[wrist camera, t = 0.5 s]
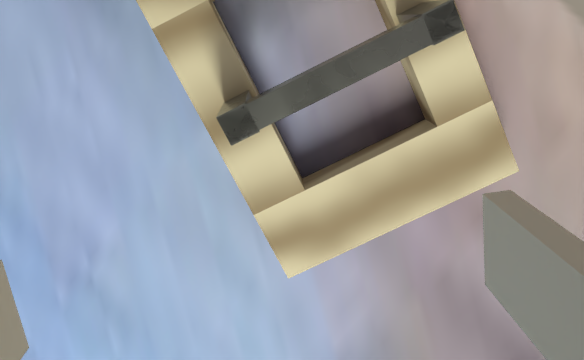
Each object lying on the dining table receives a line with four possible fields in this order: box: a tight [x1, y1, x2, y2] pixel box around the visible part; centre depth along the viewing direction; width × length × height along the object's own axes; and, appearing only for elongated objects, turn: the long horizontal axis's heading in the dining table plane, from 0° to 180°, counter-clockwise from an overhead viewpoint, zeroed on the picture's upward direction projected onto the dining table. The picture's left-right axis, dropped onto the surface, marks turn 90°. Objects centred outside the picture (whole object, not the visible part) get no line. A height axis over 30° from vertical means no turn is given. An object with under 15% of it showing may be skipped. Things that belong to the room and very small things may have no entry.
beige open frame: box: [136, 0, 519, 278], centre depth 37 cm, size 25×18×3 cm
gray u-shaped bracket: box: [216, 0, 465, 146], centre depth 34 cm, size 2×14×9 cm, turn 116°
